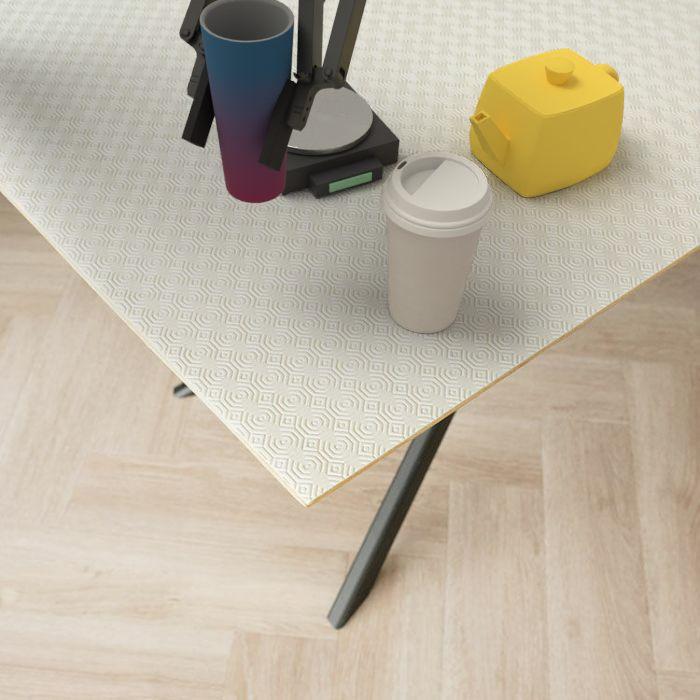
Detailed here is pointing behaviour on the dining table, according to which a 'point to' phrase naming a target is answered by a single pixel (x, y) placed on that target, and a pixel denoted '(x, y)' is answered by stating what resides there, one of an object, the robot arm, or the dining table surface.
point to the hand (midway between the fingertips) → (230, 154)
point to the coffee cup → (432, 236)
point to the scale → (344, 163)
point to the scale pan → (333, 123)
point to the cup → (247, 87)
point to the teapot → (548, 121)
